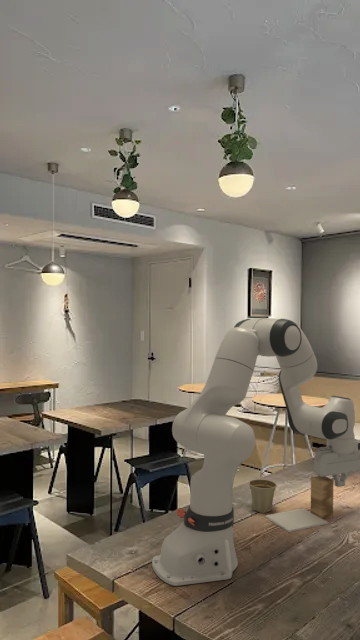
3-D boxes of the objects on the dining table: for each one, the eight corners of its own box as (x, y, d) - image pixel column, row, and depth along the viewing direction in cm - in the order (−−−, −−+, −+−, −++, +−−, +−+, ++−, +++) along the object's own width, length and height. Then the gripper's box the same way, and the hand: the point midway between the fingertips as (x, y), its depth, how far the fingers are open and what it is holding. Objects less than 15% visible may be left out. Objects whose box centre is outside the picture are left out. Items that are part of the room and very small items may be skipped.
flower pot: (268, 502, 169) (268, 477, 169) (281, 513, 160) (282, 486, 160) (243, 505, 166) (243, 480, 166) (256, 516, 157) (256, 489, 157)
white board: (288, 532, 145) (288, 530, 145) (265, 517, 156) (265, 515, 156) (327, 523, 151) (327, 521, 151) (302, 509, 162) (302, 508, 162)
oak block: (321, 519, 155) (321, 482, 155) (310, 513, 159) (311, 477, 159) (333, 516, 157) (334, 479, 157) (323, 511, 162) (323, 475, 162)
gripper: (322, 450, 154) (322, 493, 154) (370, 443, 163) (369, 484, 163) (309, 445, 160) (309, 487, 160) (356, 439, 168) (355, 479, 168)
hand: (340, 486), depth 161 cm, fingers closed
